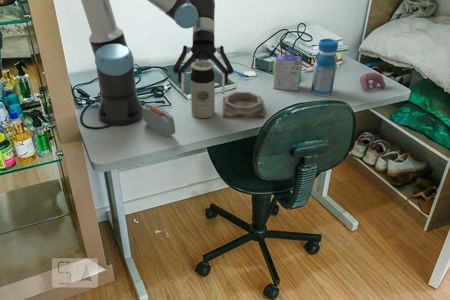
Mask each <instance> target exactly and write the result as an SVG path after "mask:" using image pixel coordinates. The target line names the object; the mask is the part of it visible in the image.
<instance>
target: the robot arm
mask: <svg viewBox="0 0 450 300" xmlns="http://www.w3.org/2000/svg"><path fill="white" fill-rule="evenodd" d="M80 1H81V4H82V7H83V10H84V13H85V16H86V19H87V22H88V23H87V24H88V26H89V29H90V31H91V34H90V35H89V37H88V40H89V43H90V46H91V47H90V48H91V49H92V52H93V56H94V63H95V64H94V65H95V67H96V74H97V79H98V85H99V86H98V87H99V92H100V99H99V100H100V101H99V105H98V109H97V114H98V120H99V121H100V122H101V123H102V124H104V125H108V126H112V127H125V126H129V125H133V124H135V123H137V122H139V121H140V120H142V118H143V108H144V107H143V104H142V102H141V100H140V98H139V96H138V94H137V85H136V77H135V69H134V61H135V60H134V55H133V53H132V51H131V49H130V48H129V46H128V44H127V41H126V37H125V34H124V31H123V30H122V29H121V28H120V27H118V25H117V22H116V20H115V16H114V12H113V8H112V4H111V2H110V0H80ZM146 1H147V2H149V3H150V4H152V5H153V6H154V7H155V8H157V9H158V10H159V11H161V12H162V13H164V14H165V15H166V16H167V17H169V18H171V20H173V21H174V22H175V23H176V25H177V26H178V27H180V28H182V29H186V30H187V29H191V28H192V45H191V47H190V46H187V45H183V46H182V52H181V54H180V56H179V57H178V59H177V60H176V63H175V64H174V66H173V68H172V71H173V74H177V75H178V76H177V82H178V84H179V85H181V86H180V87H181V89H180V92H181V95H185V72H186V71H187V70H188V69H189V68H190V67H191V64H192V63H193V62H196V61H209V60H210V62H211V63H213V64H214V66H216V68H218V70H220V71H221V72H222V73H221V74H222V75H221V78H222V79H221V94H222V95H225V86H226V85H228V82H229V75H232V74H233V73H234V68H233V66H232V64H231V62H230V60H229V58H228V57H227V55H226V53H225V49H224V46H223V45H220V46H219V47H216V46H215V9H216V3H215V0H146ZM190 52H191V55H190V57H189V58H188V59H187V61H185V63H184V64H183V62H184V60H185V59H186V57H187V55H188V54H189V53H190ZM215 53H217V54H218V55H220V58H221V60H222V62H223V63H221V61H220V60H219V59H218V58H217V57H216V55H215Z"/></svg>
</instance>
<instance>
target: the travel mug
mask: <svg viewBox="0 0 450 300" xmlns="http://www.w3.org/2000/svg"><path fill="white" fill-rule="evenodd" d="M190 67H191V72H190V75H189V76H190V99H191V100H190V104H191V105H190V106H191V115H192V116H193V117H195V118H198V119H208V118H210V117H213V116H214V115H215V93H216V92H215V83H216V82H215V72H214V70H213V69H214V67H215V64H214V63H213V62H212V61H209V60H208V61H206V60H201V61H199V60H196V61H195V62H193V63H192V64H191V66H190Z"/></svg>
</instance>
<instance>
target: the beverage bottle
mask: <svg viewBox="0 0 450 300" xmlns="http://www.w3.org/2000/svg"><path fill="white" fill-rule="evenodd" d="M338 46H339V42H338V40H336V39H332V38H322V39H320V40H319V41H318V52H317V54H316V55H315V56H314V60H315V62H314V63H313V73H312V74H313V75H312V82H311V87H310V91H311V92H312V94H314V95H317V96H319V97H327V96H330V95H332V94H333V90H334V83H335V78H336V77H335V76H336V71H337V68H338V65H337V62H338V55H337V51H338V48H339V47H338Z"/></svg>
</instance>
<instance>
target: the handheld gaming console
mask: <svg viewBox="0 0 450 300" xmlns="http://www.w3.org/2000/svg"><path fill="white" fill-rule="evenodd" d="M142 118H143V121H144V122H145V124H146V125H147V126H148V128H149V129H150V130H152V131H154V132H156V133H157V134H158V135H160V136H167V137H169V136H172V135H175V134H176V127H175V126H176V125H175V118H174V117H173V115H171V114H170V113H169V112H168V111H167V110H164V109H163V108H161V107H159V106H158V105H155V104H150V103H146V104H144V107H143V117H142Z"/></svg>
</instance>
